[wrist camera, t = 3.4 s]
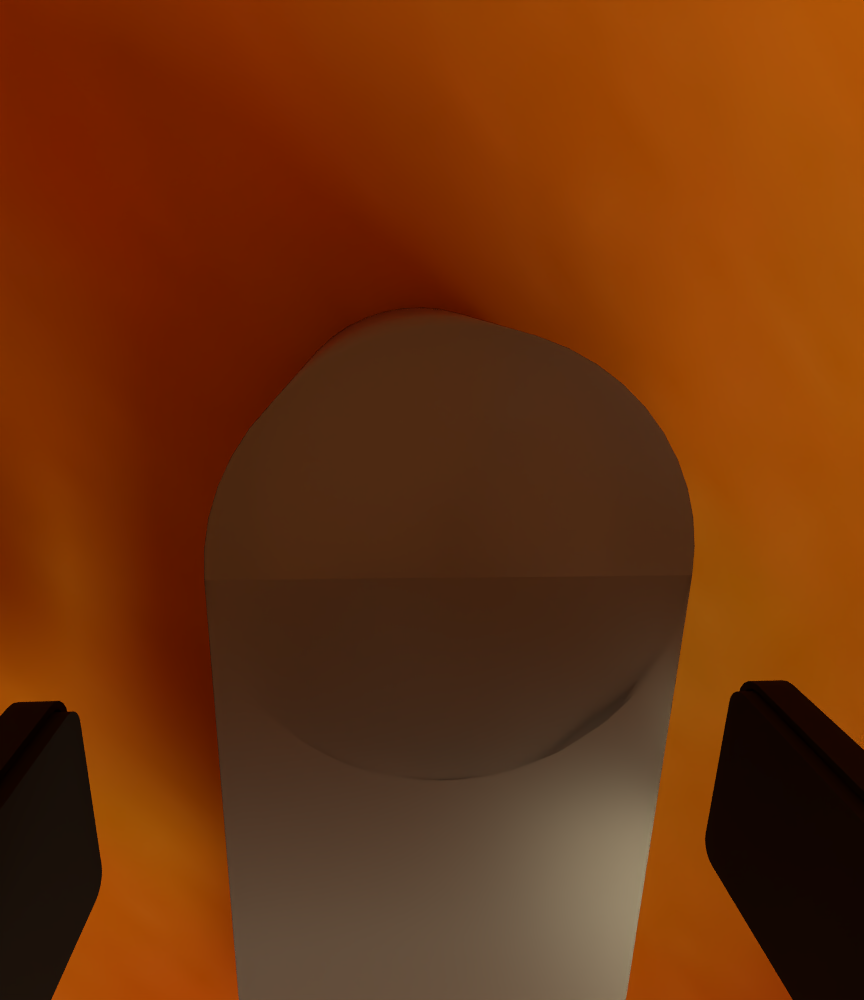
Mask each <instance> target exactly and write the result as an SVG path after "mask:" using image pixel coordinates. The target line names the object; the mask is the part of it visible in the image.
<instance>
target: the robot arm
mask: <svg viewBox="0 0 864 1000" xmlns="http://www.w3.org/2000/svg"><path fill="white" fill-rule="evenodd" d="M705 844H706V850H707V854H708V857H709V860H710V862H711V864H712V866H713V868H714V870H715V871H716V873H717V875H718V876H719V878H720V880H721V881H722V883H723V885H724V886H725V888H726V890H727V891H728V893H729V895H730V896H731V898H732V900H733V901H734V903H735V904H736V906H737V908H738V909H739V911H740V913H741V914H742V916H743V918H744V919H745V921H746V923H747V924H748V926H749V928H750V929H751V931H752V933H753V934H754V936H755V938H756V939H757V941H758V943H759V944H760V946H761V948H762V949H763V951H764V953H765V954H766V956H767V958H768V959H769V961H770V963H771V964H772V966H773V968H774V969H775V971H776V973H777V974H778V976H779V978H780V979H781V981H782V982H783V984H784V986H785V987H786V989H787V991H788V992H789V994H790V996H791V997H792V999H793V1000H864V750H863V749H862V748H861V747H860V746H859V745H858V744H857V743H856V742H855V741H853V740H852V739H851V738H850V737H849V736H848V735H847V734H846V733H845V732H844V731H843V730H841V729H840V728H839V727H838V726H837V725H836V724H835V723H834V722H833V721H832V720H831V719H829V718H828V717H827V716H826V715H825V714H824V713H823V712H822V711H821V710H820V709H819V708H817V707H816V706H815V705H814V704H813V703H812V702H811V701H810V700H809V699H808V698H807V697H805V696H804V695H803V694H802V693H801V692H800V691H799V690H798V689H797V688H796V687H795V686H793V685H792V684H791V683H789V682H788V681H783V680H776V681H748V682H746V683H744V684H743V685H742V687H741V688H740V691H739V692H735V693H733V694H732V696H731V698H730V702H729V707H728V713H727V718H726V724H725V729H724V735H723V741H722V746H721V752H720V757H719V763H718V768H717V774H716V780H715V785H714V791H713V796H712V802H711V807H710V813H709V819H708V824H707V830H706V836H705ZM101 878H102V865H101V859H100V852H99V845H98V838H97V832H96V825H95V818H94V811H93V805H92V798H91V791H90V784H89V778H88V771H87V764H86V757H85V751H84V744H83V737H82V730H81V724H80V719H79V716H78V714H77V713H76V712H67V709H66V707H65V705H64V704H63V703H62V702H60V701H43V702H17V703H13V704H12V705H10V706H9V707H8V708H7V709H6V710H5V711H4V713H3V714H2V715H1V716H0V1000H51V999H52V997H53V994H54V992H55V990H56V988H57V985H58V983H59V981H60V979H61V977H62V974H63V972H64V970H65V968H66V965H67V963H68V961H69V959H70V957H71V954H72V952H73V950H74V948H75V945H76V943H77V941H78V939H79V937H80V934H81V932H82V930H83V928H84V926H85V923H86V921H87V919H88V917H89V914H90V912H91V910H92V908H93V906H94V903H95V901H96V899H97V896H98V893H99V889H100V885H101Z"/></svg>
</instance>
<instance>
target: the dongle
mask: <svg viewBox="0 0 864 1000" xmlns="http://www.w3.org/2000/svg"><path fill="white" fill-rule="evenodd" d="M693 558H694V526H693V514H692V509H691V504H690V499H689V494H688V488H687V485H686V482H685V480H684V477H683V474H682V471H681V468H680V465H679V462H678V459H677V458H676V456H675V454H674V452H673V450H672V448H671V446H670V444H669V442H668V440H667V438H666V436H665V434H664V433H663V431H662V430H661V428H660V427H659V426H658V424H657V423H656V421H655V420H654V419H653V417H652V416H651V415H650V413H649V412H648V410H647V409H646V408H645V406H644V405H643V404H642V403H641V402H640V401H639V400H638V399H637V398H636V397H635V396H634V395H633V394H632V393H631V392H630V391H629V390H628V389H627V388H626V387H625V386H624V385H623V384H622V383H621V382H619V381H618V380H617V379H615V378H614V377H613V376H611V375H610V374H609V373H608V372H606V371H605V370H604V369H602V368H601V367H600V366H598V365H597V364H595V363H594V362H592V361H590V360H588V359H586V358H585V357H583V356H581V355H579V354H578V353H576V352H574V351H572V350H570V349H569V348H566V347H564V346H561V345H559V344H556V343H554V342H551V341H548V340H546V339H543V338H541V337H538V336H535V335H532V334H528V333H525V332H521V331H518V330H514V329H511V328H507V327H504V326H500V325H497V324H493V323H490V322H486V321H483V320H479V319H476V318H472V317H469V316H465V315H462V314H458V313H454V312H450V311H445V310H441V309H431V308H403V309H398V310H392V311H387V312H383V313H379V314H376V315H373V316H370V317H367V318H365V319H363V320H361V321H359V322H357V323H354V324H352V325H350V326H348V327H347V328H345V329H344V330H342V331H341V332H339V333H338V334H336V335H335V336H333V337H332V338H331V339H330V340H329V341H328V342H327V343H325V344H324V345H323V346H322V347H321V348H320V349H319V350H318V351H317V352H316V353H315V354H314V355H313V357H312V358H311V359H310V360H309V361H308V362H307V363H306V365H305V366H304V367H303V368H302V369H301V370H300V371H299V372H298V374H297V375H296V376H295V377H294V378H293V379H292V380H291V381H290V383H289V384H288V385H287V386H286V387H285V388H284V389H283V391H282V392H281V393H280V394H279V395H278V396H277V397H276V398H275V400H274V401H273V402H272V403H271V404H270V405H269V407H268V408H267V409H266V410H265V411H264V412H263V413H262V415H261V416H260V417H259V418H258V419H257V420H256V422H255V423H254V424H253V425H252V426H251V427H250V429H249V430H248V432H247V433H246V435H245V436H244V438H243V440H242V441H241V443H240V444H239V446H238V447H237V449H236V450H235V452H234V454H233V455H232V457H231V459H230V461H229V463H228V465H227V468H226V470H225V472H224V474H223V476H222V479H221V481H220V483H219V485H218V487H217V491H216V494H215V498H214V501H213V505H212V508H211V511H210V515H209V518H208V526H207V533H206V540H205V548H204V580H205V593H206V605H207V617H208V629H209V641H210V653H211V666H212V678H213V690H214V702H215V714H216V726H217V739H218V751H219V763H220V775H221V787H222V799H223V812H224V824H225V836H226V848H227V860H228V872H229V885H230V897H231V909H232V921H233V933H234V945H235V958H236V970H237V982H238V994H239V1000H626V994H627V988H628V982H629V975H630V969H631V962H632V956H633V950H634V943H635V937H636V930H637V924H638V918H639V911H640V905H641V898H642V892H643V886H644V879H645V873H646V866H647V860H648V854H649V847H650V841H651V834H652V828H653V821H654V815H655V809H656V802H657V796H658V789H659V783H660V777H661V770H662V764H663V757H664V751H665V745H666V738H667V732H668V725H669V719H670V713H671V706H672V700H673V693H674V687H675V681H676V674H677V668H678V661H679V655H680V649H681V642H682V636H683V629H684V623H685V617H686V610H687V604H688V597H689V591H690V585H691V578H692V569H693Z"/></svg>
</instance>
